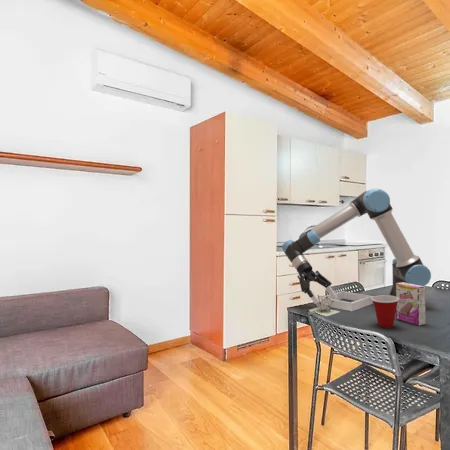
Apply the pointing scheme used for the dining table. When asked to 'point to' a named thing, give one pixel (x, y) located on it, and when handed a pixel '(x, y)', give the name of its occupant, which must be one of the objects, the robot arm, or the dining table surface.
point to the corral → (358, 302)
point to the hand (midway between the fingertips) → (326, 300)
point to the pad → (325, 312)
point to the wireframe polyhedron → (324, 303)
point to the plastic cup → (385, 309)
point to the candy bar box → (411, 303)
